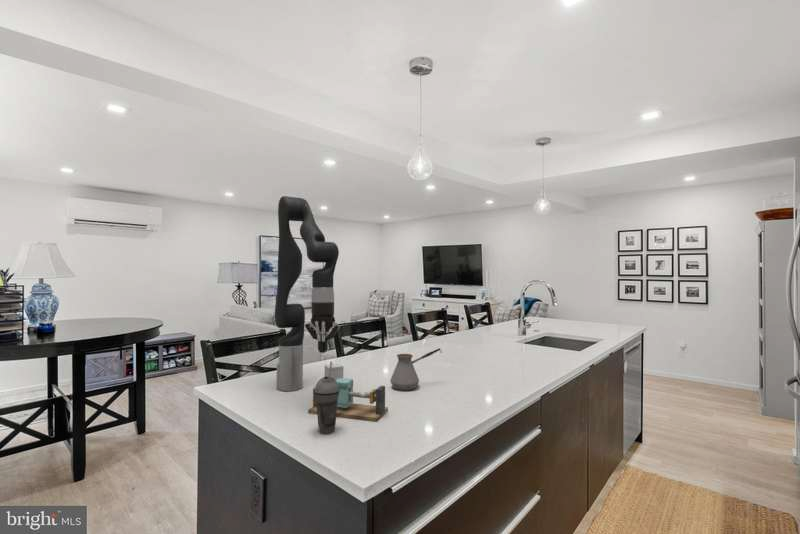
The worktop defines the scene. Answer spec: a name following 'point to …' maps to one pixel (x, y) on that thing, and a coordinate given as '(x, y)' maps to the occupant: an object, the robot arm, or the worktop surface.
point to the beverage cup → (326, 403)
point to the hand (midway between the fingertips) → (322, 352)
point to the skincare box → (334, 371)
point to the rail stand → (361, 406)
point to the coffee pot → (406, 372)
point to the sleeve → (344, 392)
